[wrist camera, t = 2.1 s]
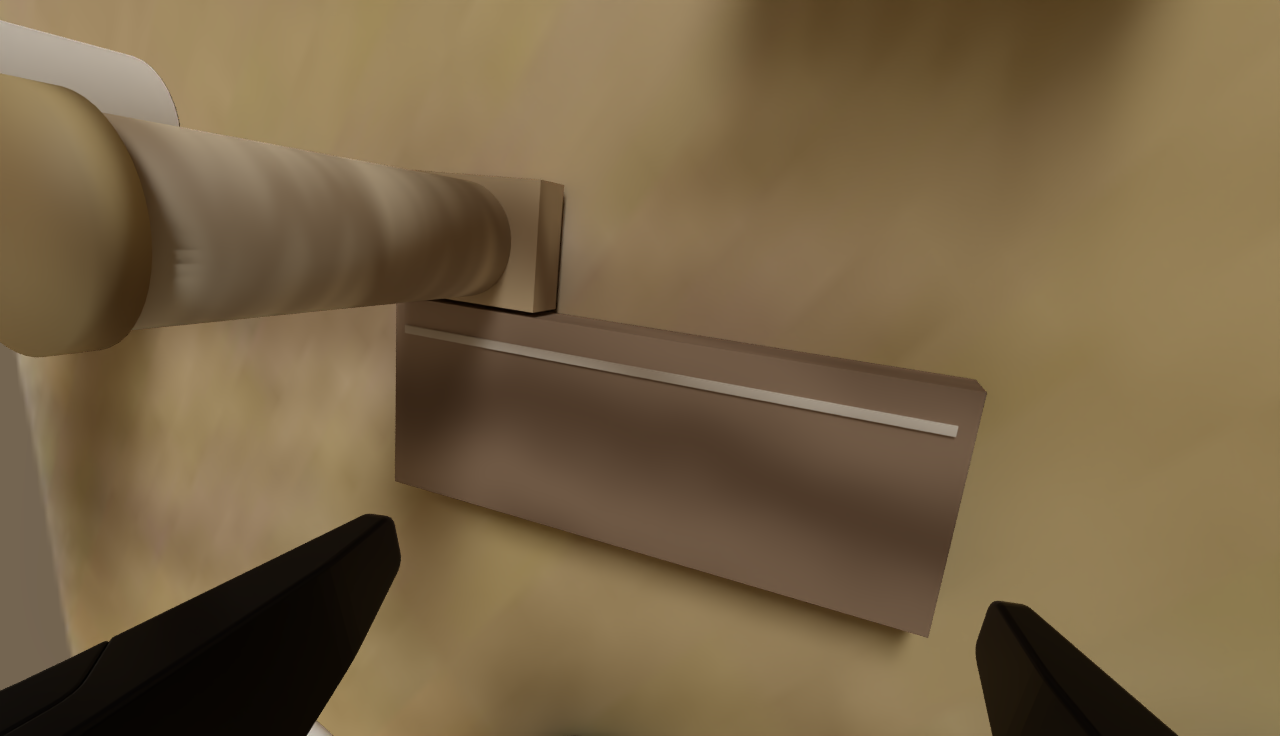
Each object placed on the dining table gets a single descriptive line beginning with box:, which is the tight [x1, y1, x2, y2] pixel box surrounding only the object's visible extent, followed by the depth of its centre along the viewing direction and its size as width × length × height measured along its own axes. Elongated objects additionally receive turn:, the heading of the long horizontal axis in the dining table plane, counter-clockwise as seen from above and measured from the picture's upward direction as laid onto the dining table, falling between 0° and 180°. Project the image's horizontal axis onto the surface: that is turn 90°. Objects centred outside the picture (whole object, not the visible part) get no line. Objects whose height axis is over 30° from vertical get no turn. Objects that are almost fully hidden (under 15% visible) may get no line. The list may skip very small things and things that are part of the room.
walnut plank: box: [395, 299, 987, 638], centre depth 21 cm, size 8×20×2 cm, turn 84°
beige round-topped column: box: [0, 73, 564, 357], centre depth 16 cm, size 5×6×14 cm
